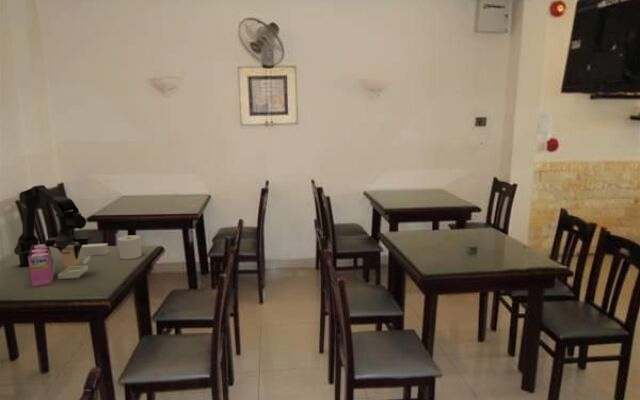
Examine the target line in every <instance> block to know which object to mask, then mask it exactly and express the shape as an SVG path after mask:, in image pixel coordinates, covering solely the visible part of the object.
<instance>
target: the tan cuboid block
mask: <svg viewBox="0 0 640 400" xmlns="http://www.w3.org/2000/svg"><path fill="white" fill-rule="evenodd" d="M73 246H74V245H70V244H68V245H67V246H66V247H65V248H64V249H62V250H61V251H62V253H61V257H62V263H63V265H62V266H63V267H64V268H65V267H67V268H68V267H74V266H77V265H78V264H79V263H80V262H81V260H80V257H81V256H80V254H79V256H78V259H76V257H75V248H74V247H73Z"/></svg>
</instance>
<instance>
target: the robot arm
mask: <svg viewBox="0 0 640 400" xmlns="http://www.w3.org/2000/svg"><path fill="white" fill-rule="evenodd" d="M18 197H19V202H20V204H21V206H22V207H23V215H22V233H21V235H20V236H19V237H18V239H17V244H16V245H15V247H14V249H13V252H14V254H15V256H16V255H17V256H18V260H19V265H18V267H29V261H28V256H29V254H30V251H31V247H32V245H34V244H36V245H39V237H37V236H36V235H35V227H36V226H35V225H36V212H37V211H36V209H37V207H38V206H39V205H40V203H41V200H44V201H46V202H47V203H48V204H50V205H51V206H52V209H53V210H54V211H55V212H56V214H55V217H57V218H58V222H59V224H58V225H59V230H58V235H57V236H56V237H49V238H48V239H46V240H45V242H44V244H45V246H46V247H50V246H51V247H53V248H54V249H57V250H58V251H59V253H60V254H62V251H61V250H62V249H64V248H65V247H67V246H69V245H70V244H75V245H74V246H73V247H74V248H75V257H76V259H78V256H79V253H80V250H81V247H82V245H88V244H92V242H93V237H92V236H91V235H86V236H85V235H82V236H80V238H77V237H78V236H77V235H76V231H75V230H76V229H79V230H80V229H84V228H85V227H86V226H87V219H86V218H85V216H82V213H80V211H79V208H78V206H76V204H75V202H74V201H73V199H72V198H69V197H67V196H60V195H58V194H57V193H55V191H54V192H53V191H52V190H50V189H49V188H47V187H46V186H45V185H43V184H40V185H33V187H31V188H29V189H27V190H25V191H21V192H20V193H19V196H18Z"/></svg>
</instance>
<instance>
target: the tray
mask: <svg viewBox="0 0 640 400" xmlns="http://www.w3.org/2000/svg"><path fill="white" fill-rule="evenodd" d="M88 271H89V266H88V265H75V266H69V267H67V268H65V269H64V270H62V271H61V272H60V273H58V274H57V280H66V279H70V280H71V279H79V278H80V277H82V275H84V274H86V272H88Z"/></svg>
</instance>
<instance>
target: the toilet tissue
mask: <svg viewBox="0 0 640 400" xmlns="http://www.w3.org/2000/svg"><path fill="white" fill-rule="evenodd" d="M117 242H118V243H117V245H118V251H119V252H118V253H119V259H120V260H133V259H137V258H140V257H141V256H142V253H143V252H142V244H141V236H140V235H137V234H136V235H134V234H133V235H124V236H121V235H119V236H118V237H117Z"/></svg>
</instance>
